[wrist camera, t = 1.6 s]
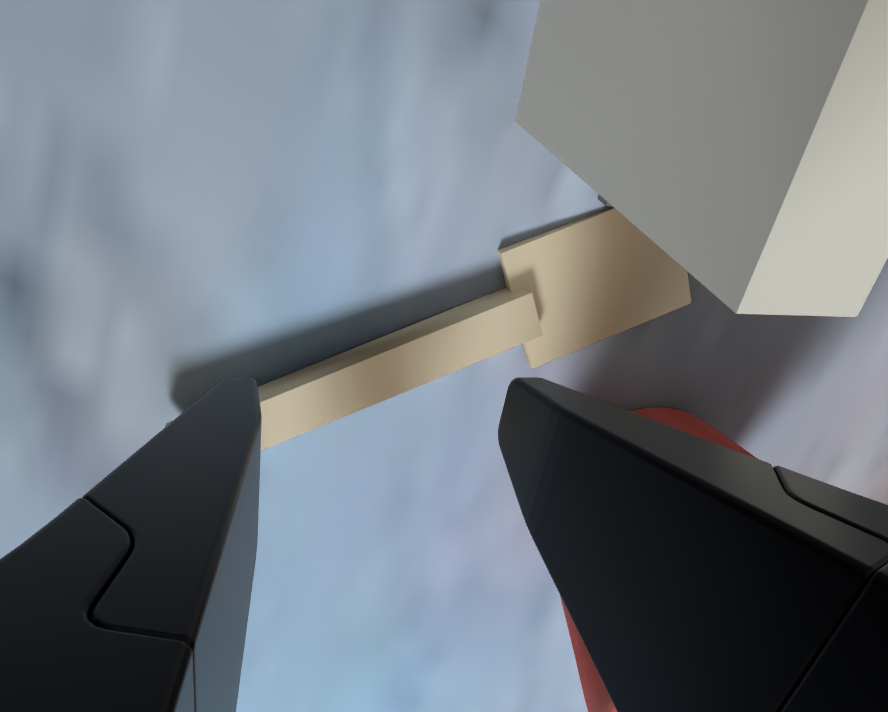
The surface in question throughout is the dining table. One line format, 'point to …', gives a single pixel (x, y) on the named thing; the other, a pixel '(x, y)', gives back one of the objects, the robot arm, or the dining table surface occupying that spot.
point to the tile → (728, 136)
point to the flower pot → (592, 685)
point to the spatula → (495, 322)
